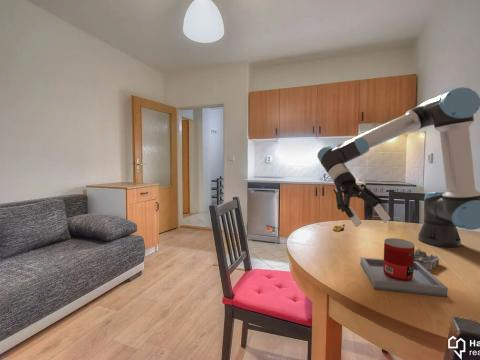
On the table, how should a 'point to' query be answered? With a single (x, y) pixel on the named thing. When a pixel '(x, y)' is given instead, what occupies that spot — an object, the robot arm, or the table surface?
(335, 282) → the table surface
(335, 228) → the yellow walkie talkie
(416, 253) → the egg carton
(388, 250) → the canned food
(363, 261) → the tray
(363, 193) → the robot arm
